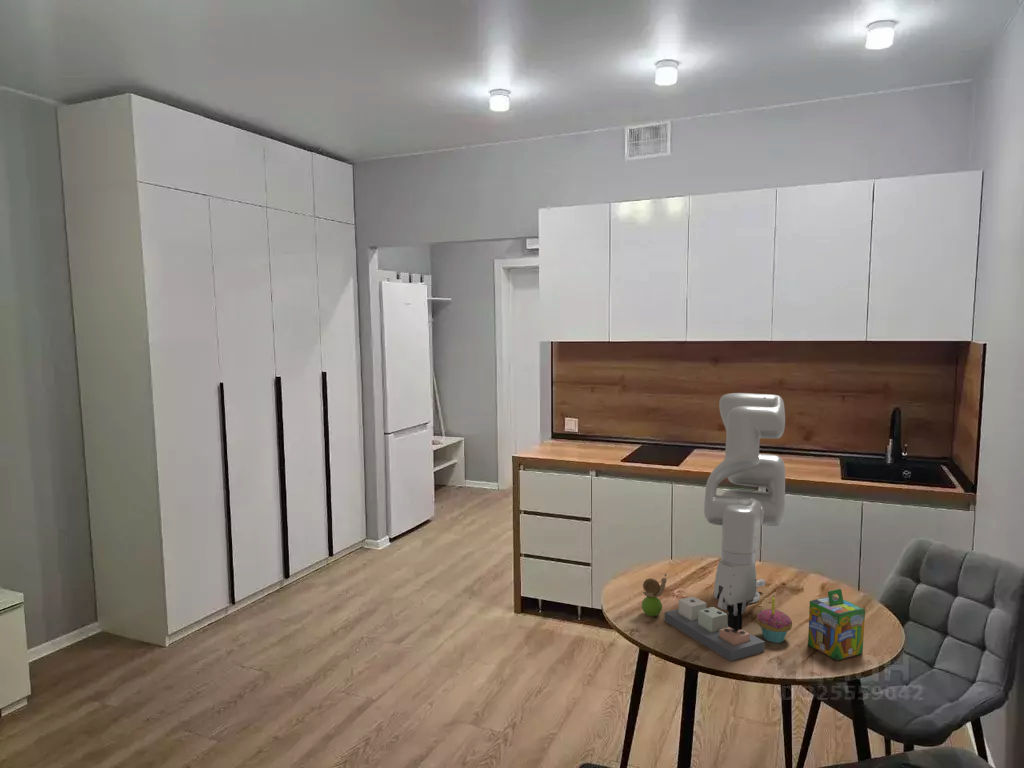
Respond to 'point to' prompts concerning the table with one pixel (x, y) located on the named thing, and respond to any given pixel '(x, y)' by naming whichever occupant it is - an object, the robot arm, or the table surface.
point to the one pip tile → (691, 607)
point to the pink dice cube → (734, 636)
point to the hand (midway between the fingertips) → (734, 627)
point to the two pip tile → (712, 619)
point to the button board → (714, 638)
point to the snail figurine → (653, 596)
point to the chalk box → (836, 626)
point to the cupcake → (774, 624)
